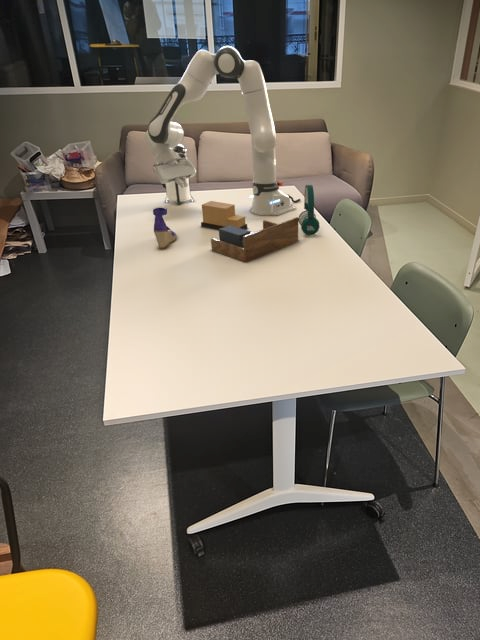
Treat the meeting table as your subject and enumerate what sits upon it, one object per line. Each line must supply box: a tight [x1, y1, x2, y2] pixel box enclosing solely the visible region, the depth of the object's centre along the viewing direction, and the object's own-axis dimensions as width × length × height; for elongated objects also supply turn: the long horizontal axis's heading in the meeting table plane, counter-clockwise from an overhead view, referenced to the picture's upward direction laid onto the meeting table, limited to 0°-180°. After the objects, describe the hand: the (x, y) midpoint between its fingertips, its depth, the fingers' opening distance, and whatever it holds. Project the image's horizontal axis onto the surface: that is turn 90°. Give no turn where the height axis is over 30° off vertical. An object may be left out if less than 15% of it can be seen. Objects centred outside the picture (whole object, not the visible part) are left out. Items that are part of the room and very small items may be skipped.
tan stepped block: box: [200, 200, 248, 231], centre depth 227 cm, size 20×8×10 cm, turn 62°
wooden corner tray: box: [210, 216, 299, 263], centre depth 208 cm, size 20×32×10 cm, turn 140°
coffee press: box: [161, 143, 195, 206], centre depth 257 cm, size 17×16×30 cm
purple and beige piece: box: [152, 207, 177, 250], centre depth 210 cm, size 8×20×15 cm, turn 174°
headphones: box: [298, 184, 320, 236], centre depth 220 cm, size 8×15×20 cm, turn 5°
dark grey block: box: [218, 225, 252, 248], centre depth 204 cm, size 20×7×8 cm, turn 50°
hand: (185, 186), depth 235 cm, fingers closed
